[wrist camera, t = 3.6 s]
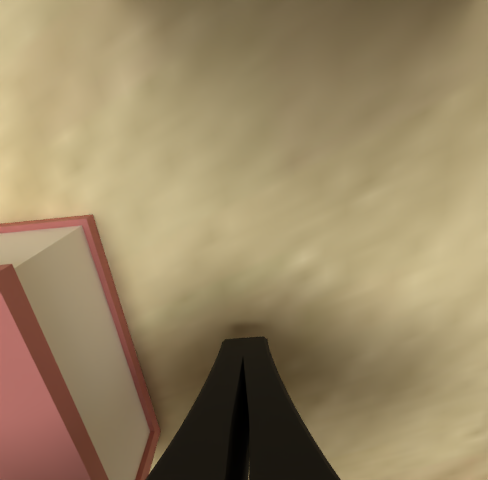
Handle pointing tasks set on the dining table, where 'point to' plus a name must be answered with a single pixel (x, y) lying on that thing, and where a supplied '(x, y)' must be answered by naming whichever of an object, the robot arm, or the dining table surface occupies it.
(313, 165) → the dining table surface
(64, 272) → the book
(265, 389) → the robot arm
